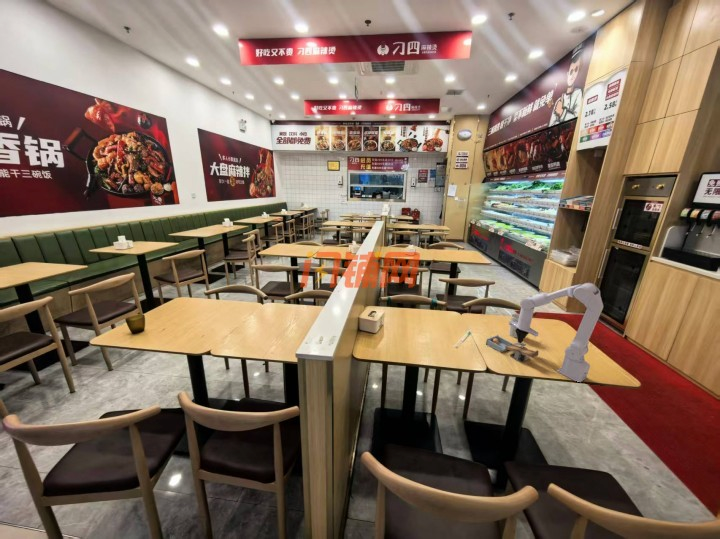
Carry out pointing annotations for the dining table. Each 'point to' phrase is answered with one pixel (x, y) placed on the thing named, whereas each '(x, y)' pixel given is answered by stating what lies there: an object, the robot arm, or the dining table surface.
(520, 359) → the stand
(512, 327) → the cup
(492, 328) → the dining table surface
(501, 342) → the tray
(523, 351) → the seesaw
